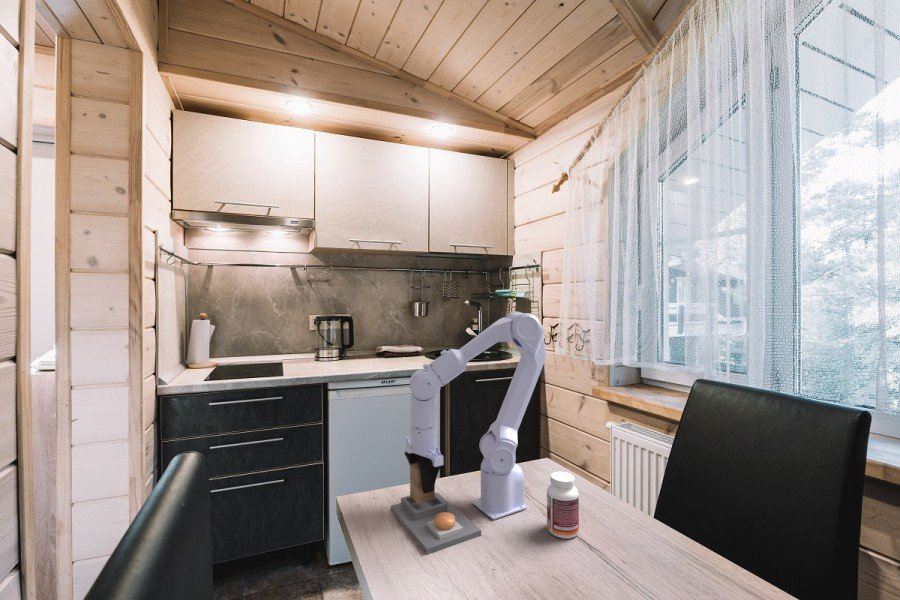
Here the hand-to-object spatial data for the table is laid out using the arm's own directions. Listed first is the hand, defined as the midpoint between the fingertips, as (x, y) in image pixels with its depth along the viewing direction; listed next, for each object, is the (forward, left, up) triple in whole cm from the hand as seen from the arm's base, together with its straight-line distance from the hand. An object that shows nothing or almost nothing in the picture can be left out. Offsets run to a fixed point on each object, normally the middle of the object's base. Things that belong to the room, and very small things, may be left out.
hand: (423, 487), depth 90 cm
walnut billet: (0, 0, -2) cm, 2 cm away
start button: (0, +9, -3) cm, 10 cm away
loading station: (0, +5, -6) cm, 7 cm away
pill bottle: (-21, +21, -6) cm, 30 cm away
